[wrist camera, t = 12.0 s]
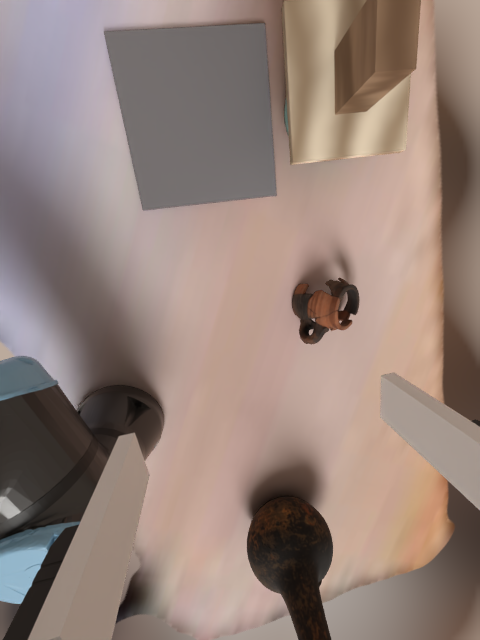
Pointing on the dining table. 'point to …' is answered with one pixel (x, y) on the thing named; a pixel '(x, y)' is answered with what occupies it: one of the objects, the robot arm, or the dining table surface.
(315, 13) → the lid
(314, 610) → the glass bottle
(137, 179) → the mat
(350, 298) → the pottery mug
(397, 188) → the dining table surface
